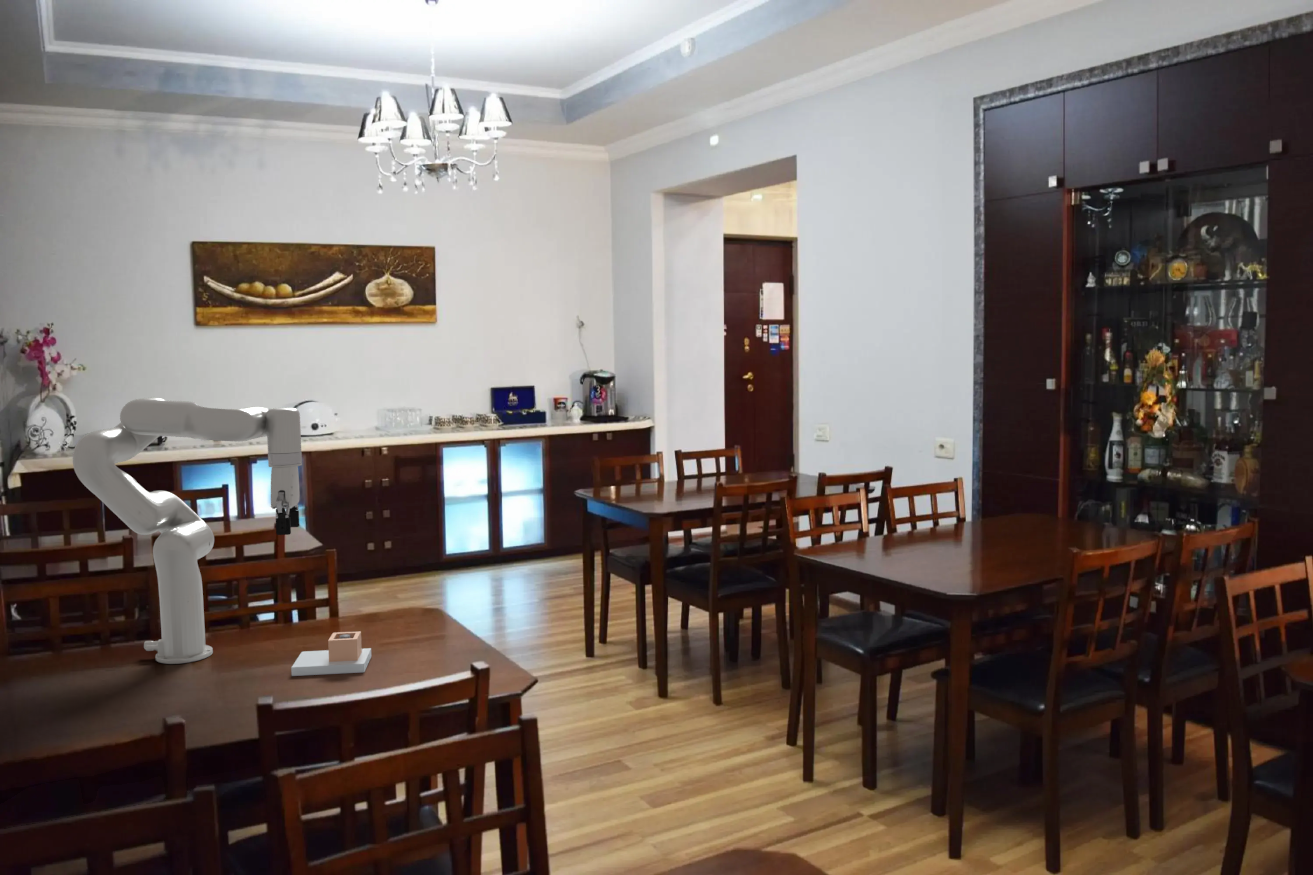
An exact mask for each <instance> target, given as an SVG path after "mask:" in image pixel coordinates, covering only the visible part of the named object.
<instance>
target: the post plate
mask: <svg viewBox="0 0 1313 875" xmlns="http://www.w3.org/2000/svg"><path fill="white" fill-rule="evenodd" d="M339 637H340V639H346V638H350V635H348V634H345V635H340V636H339ZM371 658H372V648H371V647H369V648H362V653H361V655H360V657H359V659H358V660H355V661H335V662H329V649H326V650H325V649H324V650H307V651H306V650H305V651H301V652H300V654H299V655H298V657H297V658H296V659H295V662H293V664H292V666H291V667H290V670H291V671H290V672H291V677H297V676H298V677H299V676H314V675H315V676H316V675H317V676H318V675H336V674H338V675H339V674H353V673H355V674H356V673H357V674H358V673H365V672H366V670H367V667H368V665H369V662H370V661H371Z"/></svg>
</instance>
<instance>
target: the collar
mask: <svg viewBox="0 0 1313 875" xmlns="http://www.w3.org/2000/svg"><path fill="white" fill-rule="evenodd" d="M345 634H348V635H350V638H346V639H340V637H339V636H340V635H345ZM327 642H328V643H327V644H328V646H327V647H328V648H327V650H329V662H335V661H355V660H358V659H359V657H360V655H361V653H362V649H363V648H362V631H361V630H360V631H340V632H339V631H338V632H332V634H331V635H330V637H329V639H328V640H327Z"/></svg>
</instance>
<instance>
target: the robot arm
mask: <svg viewBox="0 0 1313 875" xmlns="http://www.w3.org/2000/svg"><path fill="white" fill-rule="evenodd" d="M119 419H120V421H119V423H118V424H117V425H116V426H115V427H111V428H104V429H99V430H94V431H91V432H89V433H87V434H85V435H83V436H82V437H81V438H80V439H79V440H78V441H77V442H76V445H75V447H74V449H73V453H72V465H73V470H74V473H75V474H76V476H77V478H78V480H79V481H80V482H81V483H82V485H84V487H86V489H88V491H90V492H91V493H92V494H93V495H95V497H97V498H98V499H99V500H100V501H101V503H103V504H104V505H105V506H106V507H107V508H108V509H109V510H110V511H111V512H112V513H113V514H114V515H116V516H117V517H118V519H120V521H122V522H123V523H124V524H125V525H126V526H127V527H128V528H129V529H130V530H132V532H134V533H136V534H138V535H142V536H143V535H144V536H147V535H151V534H155V533H156V532H159V533H160V535H159V536H158V537H157V538H156V539H155V541H154V543H153V546H152V557H153V562H154V566H155V570H156V576H157V584H158V597H159V611H160V612H159V613H160V617H159V618H160V628H161V629H160V630H161V633H160V634H161V639H158V640H155V641H154V640H145V641H144V643H143V648H144V650H145V651H146V652H153V651H156V652H157V653H156V654H155V661H156V662H158V663H160V664H166V665H167V664H168V665H179V664H186V663H187V664H188V663H194V662H198V661H202V660H204V659H206V658H208V657H210V656H211V655H212V654H213V653H214V650H213V647H212V646H210V645H208V644H206V628H205V613H204V612H205V611H204V609H205V608H204V607H205V606H204V595H203V593H204V591H203V581H202V580H203V579H202V574H201V572H200V571H201V570H200V567H199V564H198V560H200V559H201V558H203V557H205V556H206V555H208V554H209V553H210V552H211V551H212V550H213V547H214V544H215V535H214V532H213V530H212V528H211V527H210V526H209V525H208V523H207V522H205V520H203V519H202V518H201V516H199V515H198V514H197V513H196V512H195V511H194V509H192V508H191V507H190V506H189V505H188V504H187V503H186V502H185V501H184V500H183V499H181V498H180V497H178V496H177V495H176V494H174V493H173V492H170V491H167V490H153V491H148V490H146V489H145V488H144V487H143V486H142V485H141V484H140V483H138V482H137V480H136V479H135V478H134V477H132V476H131V475H130V474H129V473H127V472H125V471H124V470H122V469H121V468H119V467H118V466H117V465H116V464H119V463H123V462H126V461H128V460H130V459H133V458H134V457H136V456H137V455H138V454H140V453H141V452H142V451H143V450H145V449H146V448H147V447H148V446H149V445H151V444H152V443H153V442H154V441H155V440H156V439H158V438H159V437H175V438H188V439H195V440H196V439H200V440H204V441H205V440H207V441H217V442H235V443H236V442H238V443H239V442H242V443H243V442H247V441H251V440H255V439H260V438H264V437H266V440H267V459H268V460H267V462H268V464H267V465H268V466H267V467H268V468H271V473H270V507H271V509H272V510H275V534H276V535H277V536H285V535H288V536H289V535H292V528H299V527H300V512H299V503H300V497H301V496H300V494H301V493H300V478H299V476H300V474H299V467H300V466H303V459H302V458H303V457H302V456H303V453H302V436H301V434H302V432H301V431H302V430H301V414H300V411H299V410H298V409H297V408H295V407H274V408H270V407H262V406H250V407H243V408H237V409H232V408H218V407H217V408H216V407H215V408H214V407H205V406H202V405H199V404H198V403H196V402H195V401H182V400H166V399H164V398H161V397H155V396H153V397H152V396H151V397H144V398H137V399H136V398H135V399H133V400H130V401H129V402H127V403H126V404H125V405H124V406H123V407H122V409H121V410H120V413H119Z"/></svg>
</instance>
